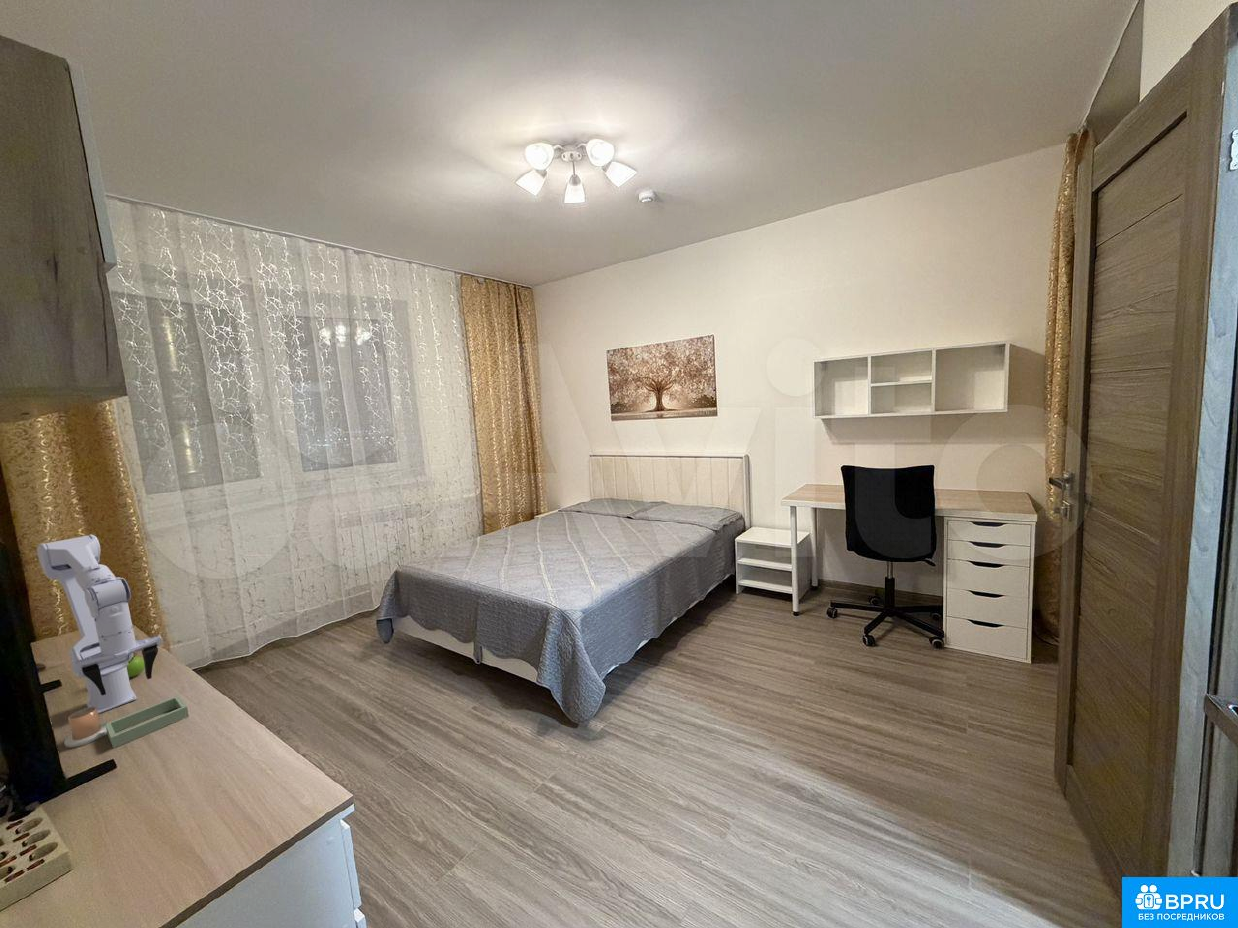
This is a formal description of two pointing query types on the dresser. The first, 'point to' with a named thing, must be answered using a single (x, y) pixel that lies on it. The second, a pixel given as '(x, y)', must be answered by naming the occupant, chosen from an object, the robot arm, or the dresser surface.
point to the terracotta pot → (84, 723)
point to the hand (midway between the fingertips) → (126, 685)
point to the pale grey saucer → (76, 743)
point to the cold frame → (149, 725)
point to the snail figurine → (135, 665)
